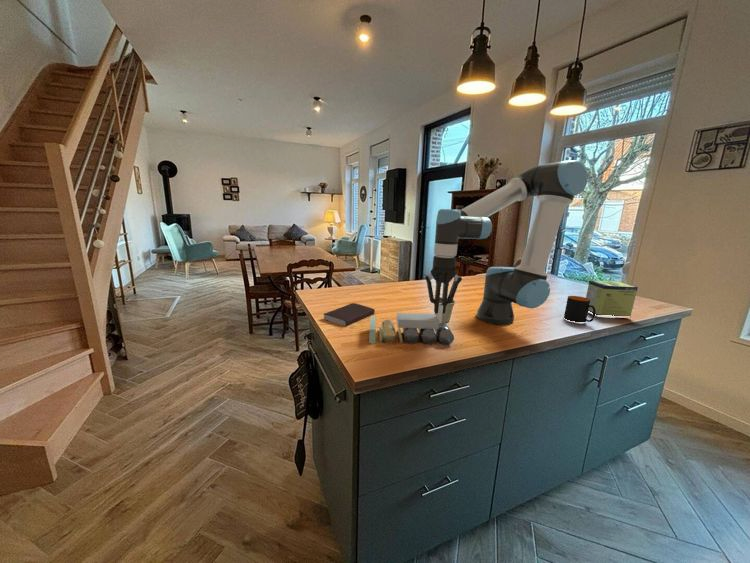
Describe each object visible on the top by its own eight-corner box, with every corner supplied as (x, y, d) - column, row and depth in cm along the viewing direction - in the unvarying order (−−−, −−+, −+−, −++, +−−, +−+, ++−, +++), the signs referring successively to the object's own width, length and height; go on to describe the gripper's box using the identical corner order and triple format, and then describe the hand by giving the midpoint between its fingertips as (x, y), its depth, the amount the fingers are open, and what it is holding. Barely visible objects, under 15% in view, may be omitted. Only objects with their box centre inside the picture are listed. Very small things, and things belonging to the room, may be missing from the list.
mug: (585, 328, 126) (590, 304, 123) (559, 318, 137) (563, 296, 134) (598, 326, 129) (603, 302, 126) (572, 316, 140) (576, 295, 137)
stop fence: (375, 329, 115) (375, 317, 113) (375, 343, 103) (375, 329, 102) (369, 329, 115) (370, 317, 113) (369, 343, 103) (369, 329, 102)
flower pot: (426, 319, 128) (428, 299, 126) (438, 314, 135) (440, 296, 133) (446, 325, 122) (448, 305, 120) (457, 320, 129) (459, 300, 127)
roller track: (446, 333, 114) (447, 320, 113) (453, 345, 103) (455, 332, 102) (379, 330, 114) (379, 318, 113) (379, 342, 103) (380, 329, 102)
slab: (434, 321, 111) (435, 314, 111) (438, 329, 104) (438, 321, 104) (396, 320, 111) (396, 312, 110) (397, 327, 104) (398, 319, 104)
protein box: (630, 319, 139) (638, 286, 136) (596, 317, 139) (604, 285, 136) (613, 312, 150) (620, 281, 146) (582, 310, 150) (588, 280, 146)
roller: (384, 333, 114) (379, 322, 113) (396, 328, 113) (391, 317, 112) (385, 345, 104) (379, 333, 103) (398, 340, 104) (392, 328, 103)
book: (374, 315, 132) (375, 308, 131) (346, 328, 116) (346, 320, 116) (352, 309, 139) (352, 302, 138) (322, 320, 123) (322, 313, 123)
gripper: (460, 255, 106) (454, 318, 111) (423, 253, 105) (418, 317, 111) (467, 258, 98) (459, 326, 104) (427, 256, 98) (422, 325, 104)
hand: (438, 321), depth 107 cm, fingers closed
